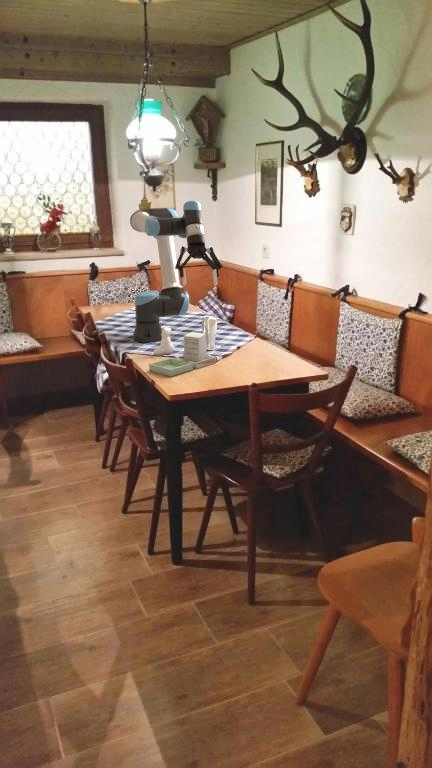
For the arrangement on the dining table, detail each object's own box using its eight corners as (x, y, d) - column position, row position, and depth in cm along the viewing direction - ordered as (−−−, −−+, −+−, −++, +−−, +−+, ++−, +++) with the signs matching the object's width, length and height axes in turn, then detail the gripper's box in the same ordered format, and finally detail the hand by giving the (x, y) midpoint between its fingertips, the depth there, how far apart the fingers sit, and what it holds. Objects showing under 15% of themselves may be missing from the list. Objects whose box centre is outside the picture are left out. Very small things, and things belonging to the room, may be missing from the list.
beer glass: (215, 351, 275) (215, 319, 270) (200, 350, 276) (200, 318, 272) (218, 347, 282) (218, 316, 277) (204, 346, 283) (203, 315, 278)
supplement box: (191, 359, 262) (191, 331, 258) (206, 361, 259) (206, 333, 255) (183, 364, 256) (183, 335, 252) (199, 366, 253) (198, 337, 249)
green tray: (149, 370, 247) (149, 363, 246) (171, 364, 256) (171, 357, 255) (170, 377, 239) (170, 370, 238) (192, 370, 248) (192, 363, 247)
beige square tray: (174, 363, 257) (174, 357, 256) (195, 357, 266) (194, 351, 265) (195, 369, 249) (195, 363, 248) (216, 362, 258) (216, 357, 257)
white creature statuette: (160, 349, 279) (159, 324, 275) (177, 350, 277) (177, 325, 273) (152, 354, 270) (151, 328, 266) (170, 356, 268) (170, 330, 264)
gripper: (168, 232, 245) (173, 281, 242) (225, 234, 253) (231, 281, 250) (164, 239, 252) (169, 287, 249) (220, 241, 260) (225, 288, 257)
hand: (200, 284), depth 249 cm, fingers open, 13 cm apart
